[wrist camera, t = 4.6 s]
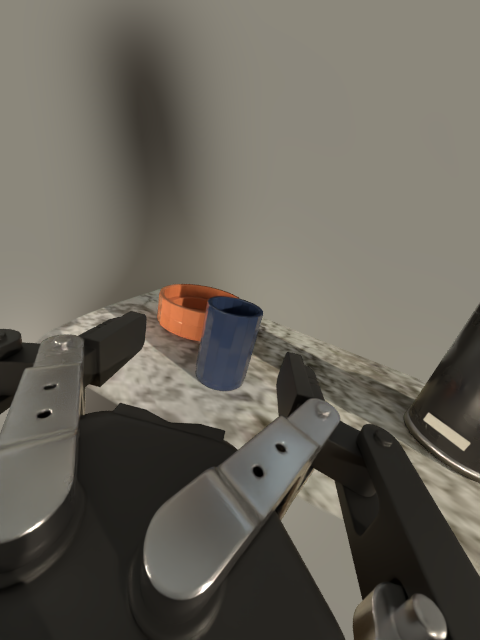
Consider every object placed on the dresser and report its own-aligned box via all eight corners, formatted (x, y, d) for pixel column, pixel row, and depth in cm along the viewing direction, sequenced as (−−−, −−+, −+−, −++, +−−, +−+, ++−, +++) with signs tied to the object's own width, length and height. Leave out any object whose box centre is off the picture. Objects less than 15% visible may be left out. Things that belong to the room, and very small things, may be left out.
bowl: (243, 319, 45) (249, 296, 43) (234, 354, 32) (242, 323, 30) (176, 302, 46) (179, 279, 44) (140, 330, 32) (142, 298, 31)
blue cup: (246, 366, 30) (263, 304, 27) (241, 396, 24) (262, 322, 21) (202, 355, 30) (214, 292, 27) (188, 383, 24) (201, 307, 21)
